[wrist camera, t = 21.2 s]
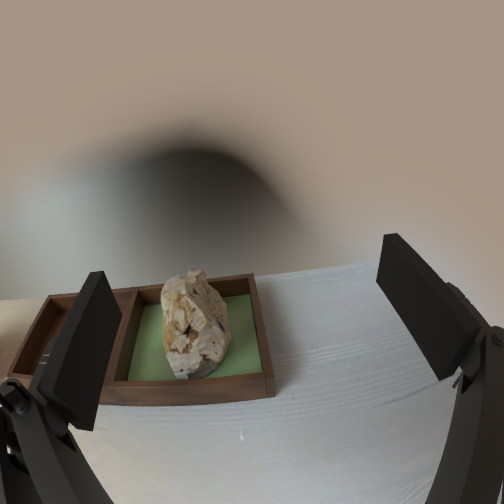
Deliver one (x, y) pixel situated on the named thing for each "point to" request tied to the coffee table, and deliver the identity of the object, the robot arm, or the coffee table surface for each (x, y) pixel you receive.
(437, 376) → the robot arm
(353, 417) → the coffee table surface
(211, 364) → the rock
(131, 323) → the divided wooden tray
